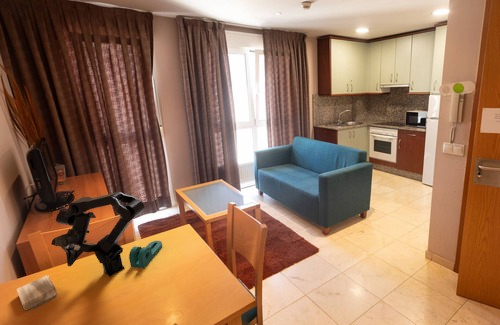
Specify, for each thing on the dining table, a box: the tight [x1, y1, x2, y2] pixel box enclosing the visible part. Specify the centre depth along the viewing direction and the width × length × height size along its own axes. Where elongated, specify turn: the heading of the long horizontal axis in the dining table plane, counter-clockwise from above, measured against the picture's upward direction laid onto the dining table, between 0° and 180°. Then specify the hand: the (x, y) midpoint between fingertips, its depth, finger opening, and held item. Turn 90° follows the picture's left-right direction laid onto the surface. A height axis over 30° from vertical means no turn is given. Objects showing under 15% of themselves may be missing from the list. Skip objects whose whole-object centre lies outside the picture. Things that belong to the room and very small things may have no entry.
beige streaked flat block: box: [16, 274, 58, 312], centre depth 100 cm, size 3×12×10 cm
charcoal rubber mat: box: [29, 295, 57, 311], centre depth 101 cm, size 8×14×1 cm, turn 49°
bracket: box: [128, 240, 163, 269], centre depth 121 cm, size 18×7×8 cm, turn 169°
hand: (69, 266), depth 105 cm, fingers closed
